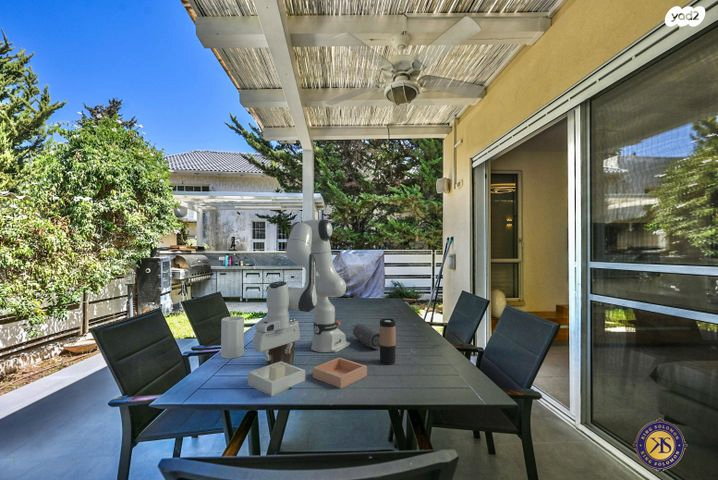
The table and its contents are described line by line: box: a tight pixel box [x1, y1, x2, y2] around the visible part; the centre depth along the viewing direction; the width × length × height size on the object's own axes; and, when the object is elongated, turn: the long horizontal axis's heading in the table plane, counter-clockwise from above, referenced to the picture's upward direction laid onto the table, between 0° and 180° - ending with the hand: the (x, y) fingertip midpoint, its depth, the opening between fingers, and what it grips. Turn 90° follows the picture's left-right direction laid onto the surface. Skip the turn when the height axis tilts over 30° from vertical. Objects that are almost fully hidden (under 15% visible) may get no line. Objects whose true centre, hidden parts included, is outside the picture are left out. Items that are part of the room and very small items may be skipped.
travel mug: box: [379, 318, 397, 366], centre depth 154 cm, size 8×8×20 cm
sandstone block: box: [269, 363, 285, 381], centre depth 130 cm, size 4×4×6 cm
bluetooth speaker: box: [352, 323, 380, 349], centre depth 181 cm, size 23×9×10 cm, turn 25°
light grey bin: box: [247, 361, 306, 397], centre depth 129 cm, size 16×16×5 cm
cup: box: [220, 316, 245, 360], centre depth 163 cm, size 11×11×18 cm
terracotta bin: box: [312, 357, 368, 389], centre depth 135 cm, size 16×16×5 cm
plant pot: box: [266, 341, 296, 366], centre depth 153 cm, size 16×16×16 cm
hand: (278, 356), depth 130 cm, fingers open, 8 cm apart
